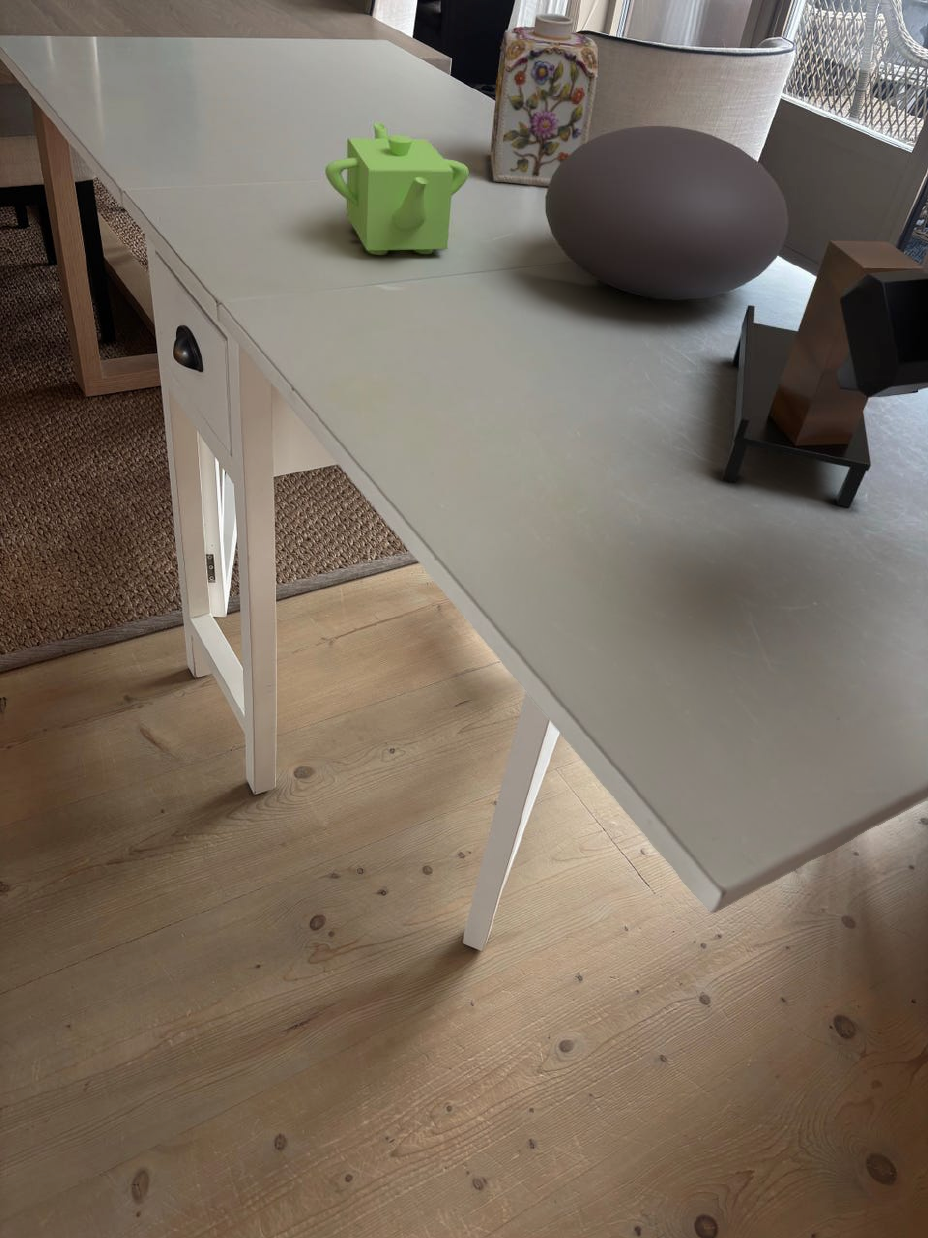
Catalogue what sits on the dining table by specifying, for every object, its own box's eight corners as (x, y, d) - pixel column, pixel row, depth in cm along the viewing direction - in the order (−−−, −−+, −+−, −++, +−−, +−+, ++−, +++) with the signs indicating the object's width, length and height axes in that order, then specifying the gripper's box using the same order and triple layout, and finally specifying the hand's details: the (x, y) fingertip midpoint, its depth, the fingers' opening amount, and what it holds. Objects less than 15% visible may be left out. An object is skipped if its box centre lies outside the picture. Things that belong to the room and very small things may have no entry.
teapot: (373, 208, 110) (377, 108, 103) (477, 236, 107) (488, 134, 100) (305, 247, 100) (304, 139, 93) (419, 279, 96) (426, 169, 89)
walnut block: (849, 444, 71) (924, 267, 62) (794, 445, 70) (863, 266, 61) (820, 413, 74) (888, 241, 65) (768, 414, 73) (829, 240, 64)
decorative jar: (572, 163, 131) (596, 12, 119) (580, 191, 123) (607, 31, 111) (487, 154, 131) (503, 2, 119) (489, 182, 122) (507, 20, 110)
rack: (837, 381, 88) (859, 326, 84) (851, 509, 72) (879, 447, 68) (731, 360, 89) (748, 304, 86) (720, 480, 73) (741, 418, 69)
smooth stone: (592, 342, 89) (625, 177, 79) (502, 242, 106) (520, 95, 96) (809, 328, 97) (864, 175, 87) (691, 236, 114) (726, 100, 104)
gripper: (1232, 98, 48) (995, 243, 63) (925, 108, 44) (749, 262, 59) (1279, 310, 47) (1029, 405, 63) (973, 342, 43) (783, 436, 58)
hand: (901, 373), depth 61 cm, fingers open, 9 cm apart
